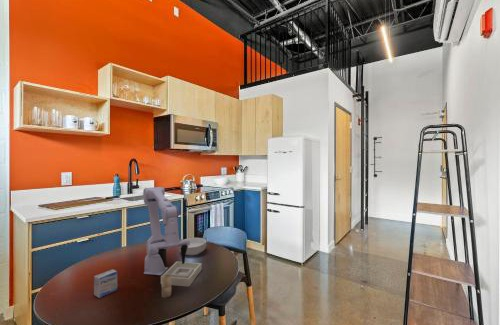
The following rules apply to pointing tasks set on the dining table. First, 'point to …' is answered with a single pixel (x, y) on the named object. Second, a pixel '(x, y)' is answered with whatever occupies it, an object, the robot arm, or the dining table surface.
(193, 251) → the cereal bowl
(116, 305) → the dining table surface
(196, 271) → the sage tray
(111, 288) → the medicine box
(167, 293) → the birch peg
